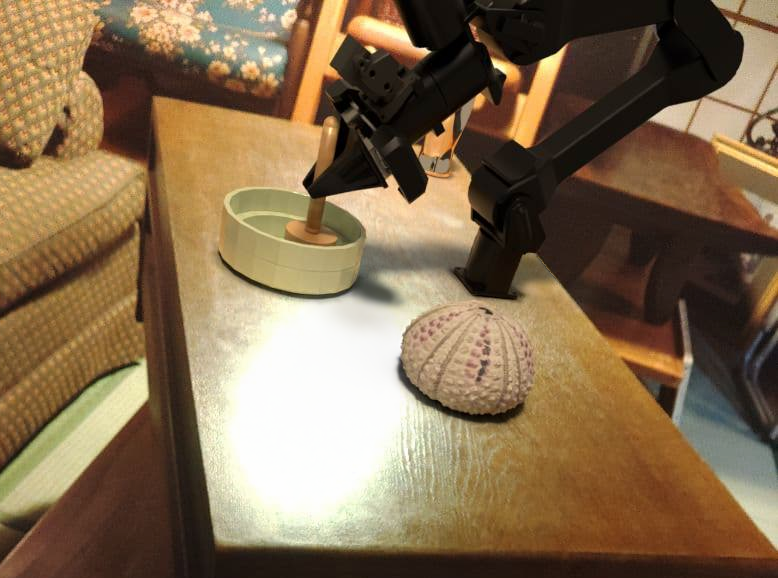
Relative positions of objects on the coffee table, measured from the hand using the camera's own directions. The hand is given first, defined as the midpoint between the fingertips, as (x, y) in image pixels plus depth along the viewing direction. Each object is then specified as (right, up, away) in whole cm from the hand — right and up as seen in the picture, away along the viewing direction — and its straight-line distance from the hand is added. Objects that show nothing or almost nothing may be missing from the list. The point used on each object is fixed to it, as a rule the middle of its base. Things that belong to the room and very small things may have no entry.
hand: (306, 191), depth 76 cm
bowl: (-3, -5, +6) cm, 9 cm away
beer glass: (+17, +26, +47) cm, 56 cm away
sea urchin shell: (+15, -21, -4) cm, 26 cm away
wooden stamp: (0, -5, +5) cm, 7 cm away
